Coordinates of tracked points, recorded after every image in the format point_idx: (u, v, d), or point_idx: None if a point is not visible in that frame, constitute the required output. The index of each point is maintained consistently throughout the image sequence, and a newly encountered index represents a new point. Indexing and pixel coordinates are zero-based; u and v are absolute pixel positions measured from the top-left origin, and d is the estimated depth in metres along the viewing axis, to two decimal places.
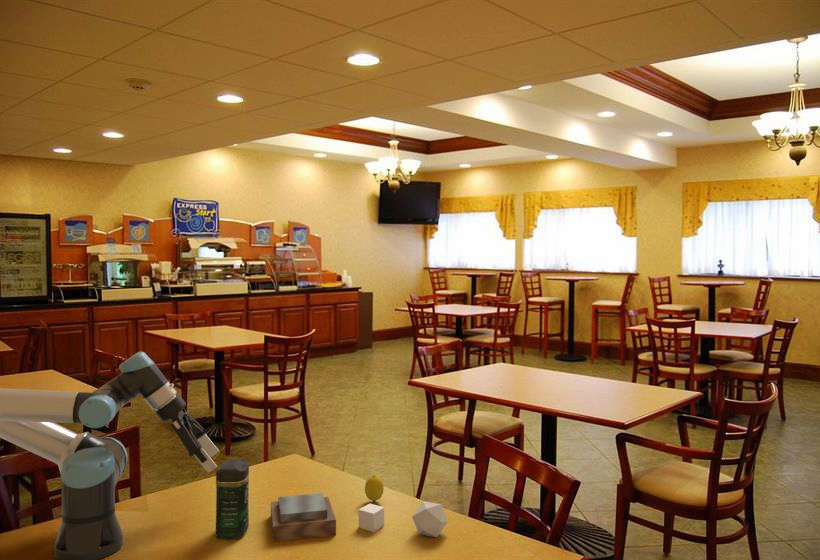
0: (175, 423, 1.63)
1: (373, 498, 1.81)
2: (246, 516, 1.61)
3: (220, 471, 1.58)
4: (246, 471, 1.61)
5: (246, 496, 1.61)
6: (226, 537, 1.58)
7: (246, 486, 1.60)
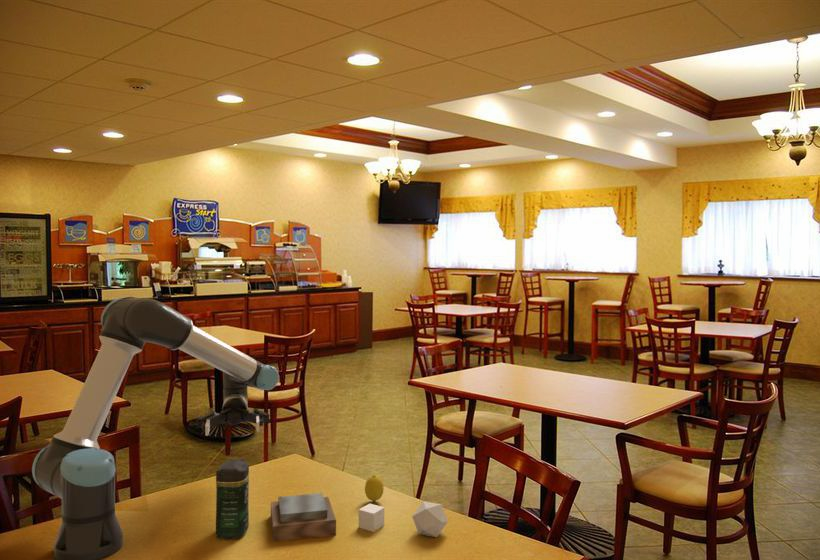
0: None
1: (373, 498, 1.81)
2: (246, 516, 1.61)
3: (220, 471, 1.58)
4: (246, 471, 1.61)
5: (246, 496, 1.61)
6: (226, 537, 1.58)
7: (246, 486, 1.60)
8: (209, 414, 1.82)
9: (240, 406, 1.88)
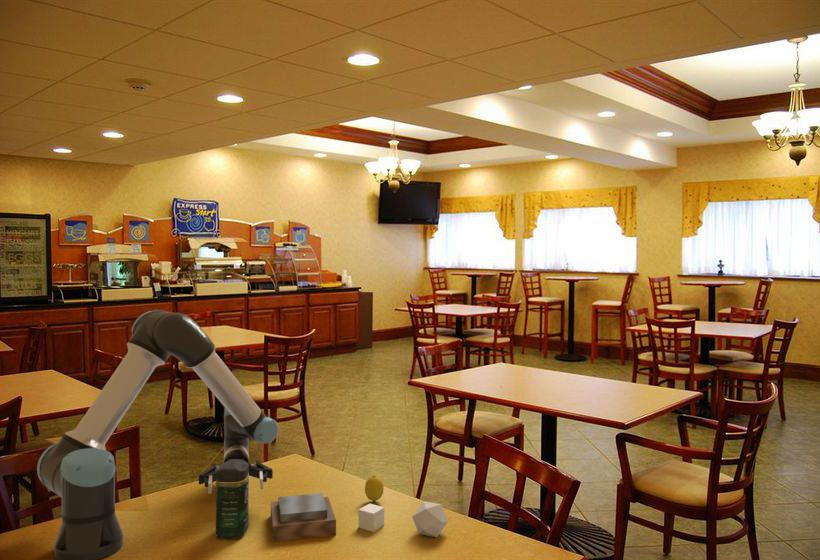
0: None
1: (373, 498, 1.81)
2: (246, 516, 1.61)
3: (220, 471, 1.58)
4: (246, 471, 1.61)
5: (246, 496, 1.61)
6: (226, 537, 1.58)
7: (246, 486, 1.60)
8: (211, 468, 1.78)
9: None
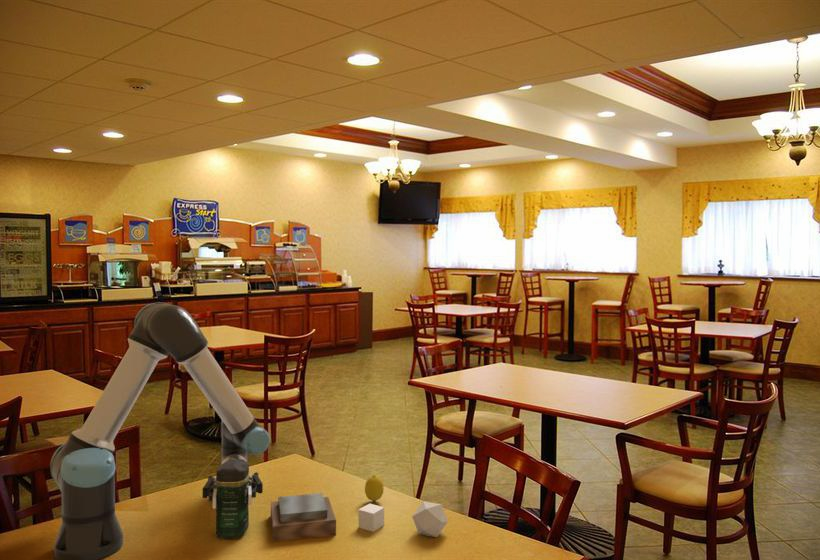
0: None
1: (373, 498, 1.81)
2: (246, 516, 1.61)
3: (220, 471, 1.58)
4: (246, 471, 1.61)
5: (246, 496, 1.61)
6: (226, 537, 1.58)
7: (246, 486, 1.60)
8: (210, 480, 1.68)
9: None
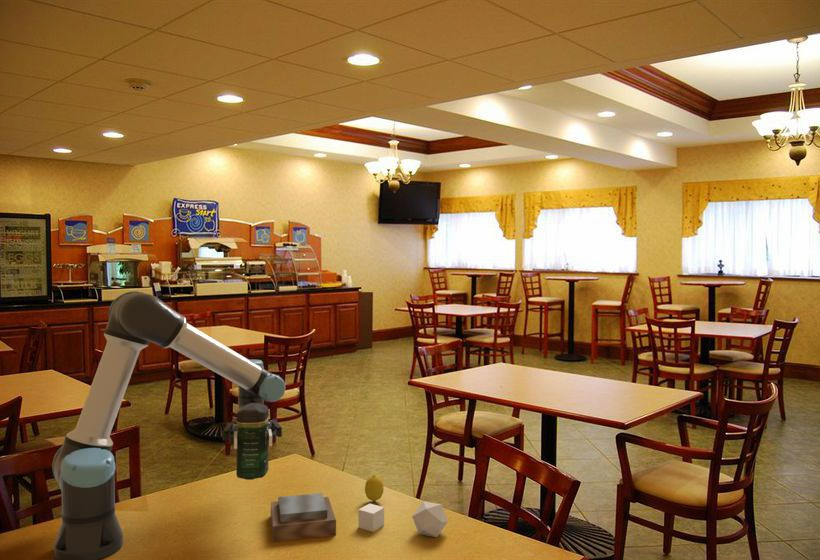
0: None
1: (373, 498, 1.81)
2: (266, 458, 1.63)
3: (241, 412, 1.59)
4: (266, 413, 1.62)
5: (266, 438, 1.62)
6: (247, 477, 1.59)
7: (266, 427, 1.62)
8: (230, 425, 1.70)
9: None
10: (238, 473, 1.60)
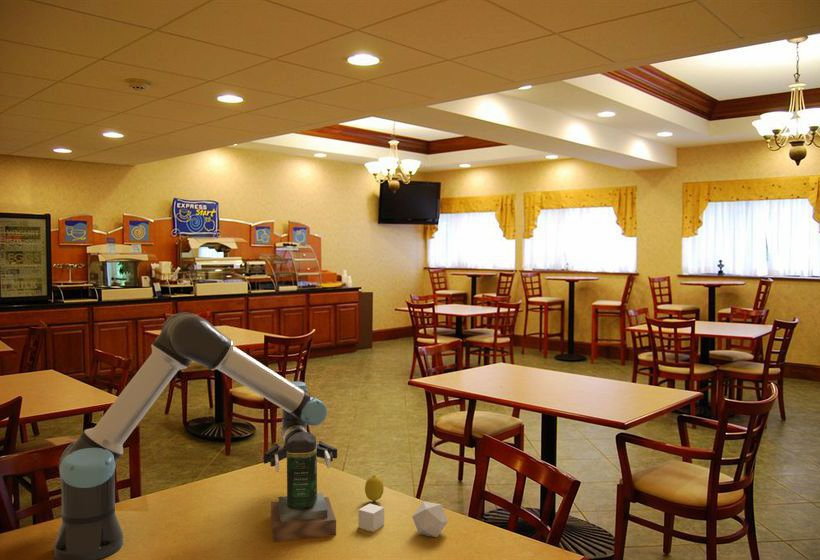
0: None
1: (373, 498, 1.81)
2: (316, 486, 1.66)
3: (291, 442, 1.62)
4: (315, 442, 1.66)
5: (315, 467, 1.65)
6: (298, 506, 1.62)
7: (315, 457, 1.65)
8: (274, 448, 1.73)
9: None
10: (289, 502, 1.63)
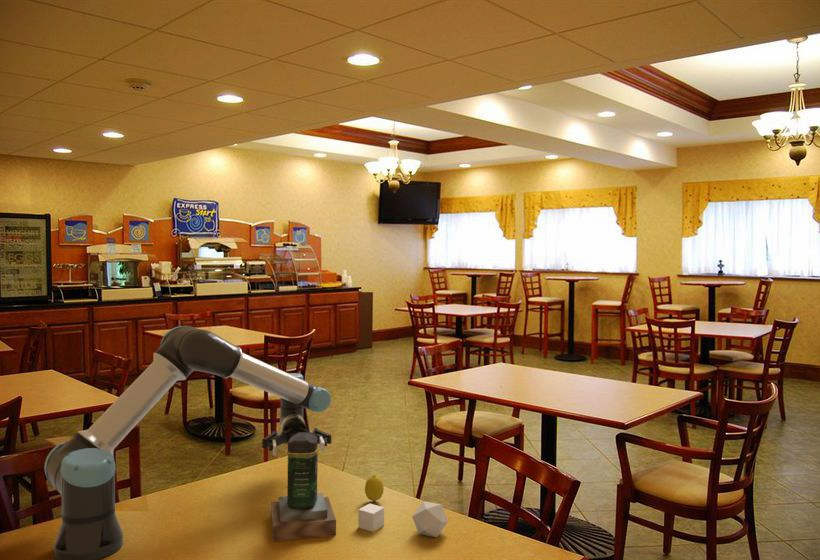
0: None
1: (373, 498, 1.81)
2: (316, 487, 1.66)
3: (292, 443, 1.62)
4: (316, 443, 1.66)
5: (316, 467, 1.65)
6: (298, 507, 1.62)
7: (316, 457, 1.65)
8: (272, 434, 1.86)
9: (300, 426, 1.93)
10: (289, 502, 1.63)
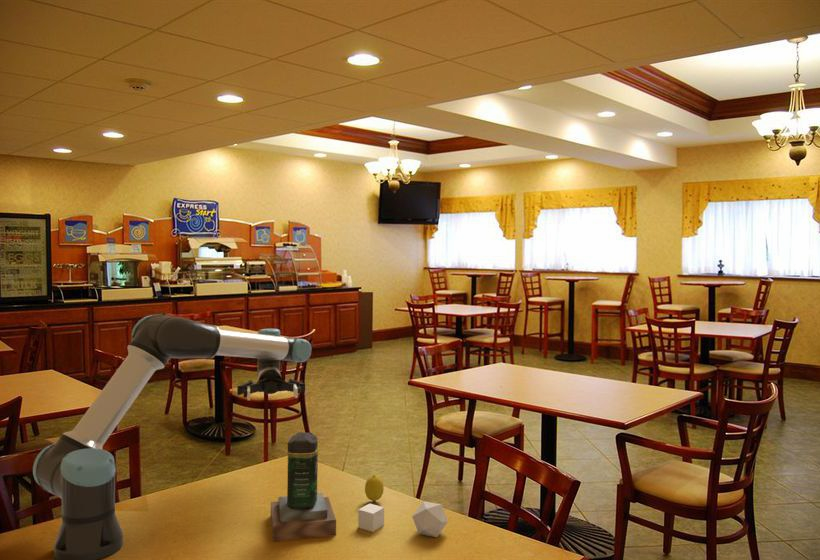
0: None
1: (373, 498, 1.81)
2: (316, 487, 1.66)
3: (292, 443, 1.62)
4: (316, 443, 1.66)
5: (316, 467, 1.65)
6: (298, 507, 1.62)
7: (316, 457, 1.65)
8: (248, 382, 1.91)
9: (276, 377, 1.98)
10: (289, 502, 1.63)
